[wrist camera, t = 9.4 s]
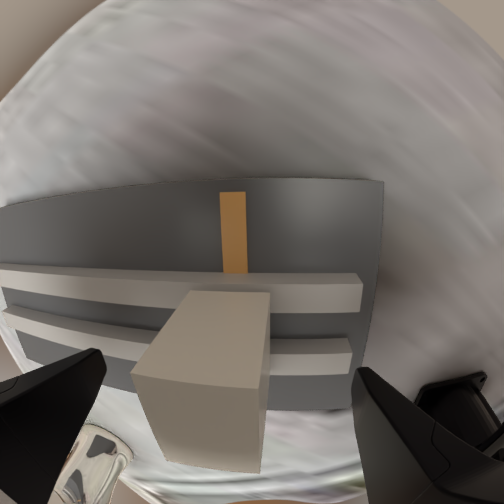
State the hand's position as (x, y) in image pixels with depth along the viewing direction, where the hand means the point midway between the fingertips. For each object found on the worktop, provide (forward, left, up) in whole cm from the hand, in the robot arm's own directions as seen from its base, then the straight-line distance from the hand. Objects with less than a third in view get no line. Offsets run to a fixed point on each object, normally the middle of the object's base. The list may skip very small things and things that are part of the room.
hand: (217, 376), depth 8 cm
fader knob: (0, 0, -4) cm, 4 cm away
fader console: (+6, 0, -6) cm, 8 cm away
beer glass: (+15, +18, -6) cm, 24 cm away
